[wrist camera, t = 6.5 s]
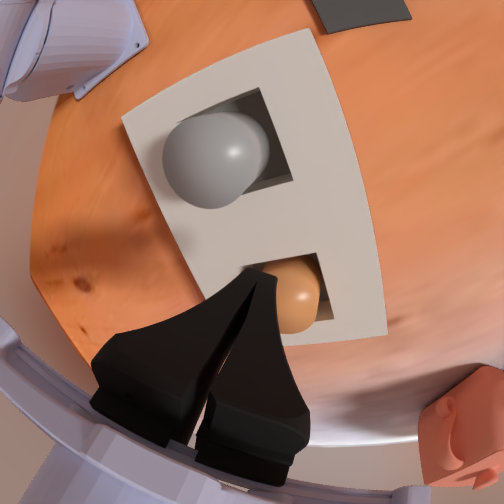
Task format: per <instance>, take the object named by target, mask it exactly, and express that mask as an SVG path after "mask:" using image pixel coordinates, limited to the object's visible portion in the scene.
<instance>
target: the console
mask: <svg viewBox="0 0 504 504" xmlns="http://www.w3.org/2000/svg"><path fill="white" fill-rule="evenodd" d="M225 111H237V112H242V113H244V114H247V115H249V116H251V117H252V118H254V119H255V120H256V121H257V122H258V123H259V124H260V125H261V126H262V127H263V129H264V131H265V132H266V134H267V137H268V140H269V145H270V156H269V161H268V164H267V166H266V168H265V170H264V171H263V172H262V174H261V175H260V176H259V177H258V178H257V179H256V180H255V181H254V182H253V183H252V184H251V185H250V186H249V187H248V188H247V189H246V190H245V191H244V192H243V193H242V194H241V195H240V196H239V197H238V198H237V199H236V200H235V201H234V202H232V203H231V204H229V205H227V206H225V207H222V208H217V209H203V208H199V207H196V206H193V205H191V204H189V203H187V202H186V201H184V200H183V199H181V198H180V197H179V196H178V195H177V194H176V193H175V192H174V190H173V189H172V188H171V186H170V185H169V183H168V181H167V179H166V176H165V174H164V170H163V163H162V155H163V148H164V145H165V142H166V140H167V138H168V136H169V134H170V133H171V131H172V130H173V129H174V128H175V127H176V126H177V125H179V124H180V123H181V122H183V121H185V120H187V119H190V118H193V117H198V116H203V115H208V114H214V113H219V112H225ZM121 119H122V121H123V124H124V126H125V129H126V131H127V134H128V136H129V139H130V141H131V144H132V146H133V148H134V151H135V153H136V155H137V158H138V160H139V162H140V165H141V167H142V169H143V172H144V174H145V176H146V178H147V181H148V183H149V185H150V187H151V190H152V192H153V194H154V196H155V198H156V201H157V203H158V205H159V207H160V209H161V211H162V213H163V216H164V218H165V220H166V222H167V224H168V226H169V228H170V230H171V232H172V234H173V236H174V238H175V240H176V242H177V245H178V247H179V249H180V251H181V253H182V255H183V257H184V259H185V260H186V262H187V264H188V266H189V268H190V270H191V272H192V274H193V276H194V278H195V280H196V282H197V284H198V286H199V288H200V289H201V291H202V293H203V295H204V297H205V299H208V298H209V297H211V296H212V295H214V294H215V293H217V292H218V291H219V290H221V289H222V288H223V287H225V286H226V285H227V284H228V283H230V282H231V281H232V280H233V279H234V278H236V277H237V276H238V275H239V274H240V273H241V272H242V271H243V270H244V269H245V268H247V267H251V268H254V269H256V270H259V271H262V270H263V268H264V265H265V263H266V262H267V261H272V260H277V259H283V258H288V257H294V256H299V255H307V256H308V257H310V258H311V259H312V260H314V261H315V263H316V264H317V265H318V267H319V268H320V271H321V274H322V283H321V290H320V296H319V303H318V309H317V315H316V319H315V321H314V323H313V324H312V325H311V326H310V327H309V328H308V329H306V330H304V331H302V332H300V333H296V334H280V335H281V340H282V344H283V346H291V345H304V344H316V343H326V342H336V341H345V340H353V339H361V338H368V337H375V336H382V335H388V332H387V321H386V311H385V301H384V293H383V285H382V278H381V271H380V264H379V258H378V252H377V246H376V241H375V235H374V230H373V225H372V220H371V215H370V210H369V206H368V201H367V197H366V193H365V188H364V184H363V180H362V176H361V172H360V169H359V165H358V161H357V158H356V154H355V150H354V147H353V144H352V140H351V137H350V134H349V130H348V127H347V124H346V121H345V118H344V115H343V112H342V109H341V106H340V103H339V100H338V97H337V94H336V92H335V89H334V86H333V84H332V81H331V78H330V76H329V73H328V71H327V68H326V66H325V63H324V61H323V58H322V56H321V53H320V51H319V49H318V46H317V44H316V42H315V40H314V37H313V35H312V33H311V31H310V29H309V28H307V29H303V30H300V31H296V32H293V33H290V34H287V35H284V36H281V37H278V38H275V39H272V40H270V41H267V42H264V43H261V44H259V45H256V46H254V47H251V48H248V49H246V50H244V51H241V52H239V53H236V54H234V55H232V56H229V57H227V58H225V59H223V60H221V61H218V62H216V63H214V64H212V65H210V66H208V67H206V68H204V69H202V70H200V71H198V72H196V73H194V74H192V75H190V76H188V77H186V78H184V79H182V80H181V81H179V82H177V83H175V84H173V85H171V86H170V87H168V88H166V89H164V90H163V91H161V92H159V93H158V94H156V95H154V96H153V97H151V98H149V99H148V100H146V101H145V102H143V103H141V104H140V105H138V106H137V107H135V108H134V109H132V110H131V111H129V112H128V113H126V114H125V115H123V116H122V117H121Z"/></svg>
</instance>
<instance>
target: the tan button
mask: <svg viewBox="0 0 504 504" xmlns="http://www.w3.org/2000/svg"><path fill="white" fill-rule="evenodd" d="M262 272H265V273H268V274H271V275H274V276H276V277H277V278H278V282H277V289H276V304H277V316H278V324H279V330H280V334H296V333H300V332H302V331H304V330H306V329H308V328H309V327H310V326H311V325H312V324H313V323H314V321H315V319H316V315H317V309H318V303H319V296H320V290H321V283H322V274H321V271H320V268H319V267H318V265H317V264H316V263H315V261H314V260H312V259H311V258H310V257H308V256H307V255H299V256H294V257H288V258H283V259H277V260H272V261H267V262H266V263H265V265H264V268H263V270H262Z"/></svg>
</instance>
